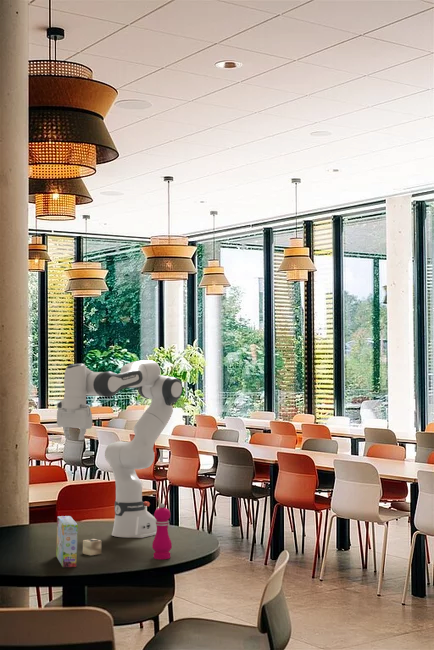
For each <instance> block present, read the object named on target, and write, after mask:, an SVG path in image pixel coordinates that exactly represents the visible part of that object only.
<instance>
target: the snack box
mask: <svg viewBox="0 0 434 650" xmlns="http://www.w3.org/2000/svg"><path fill="white" fill-rule="evenodd" d="M78 531H79V524H78V523H77V522H76V521H75V520H74V519H73V517H72V516H71V515H65V516H64V515H61V516H60V515H59V516H57V519H56V550H55V551H56V553H55V554H56V555H55V556H56V558H57V560H58V562H59V563H60V565H61V567H62V568H76V567H77V561H78V560H77V559H78V557H77V555H78V536H79V533H78Z"/></svg>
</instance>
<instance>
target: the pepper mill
mask: <svg viewBox="0 0 434 650" xmlns="http://www.w3.org/2000/svg"><path fill="white" fill-rule="evenodd" d="M165 506H166V505H165V503H160V505H159V507H158V508H156V509H155V511H154V513H153V516H154V517H155V519H156V520H157V521H156V525H157V532H156V535H154V538H153V541H152V545H151V547H152V550H153V551H154V552H153V559H155V560H168V559H170V558H171V552H170V550H171V549H172V546H173V544H172V540H171V538H170V535H169V532H168V531H169V529H168V528H169V526H170V523H169V522H170V521H169V520H170V518H171V511H170V509H168V508H167V507H165Z"/></svg>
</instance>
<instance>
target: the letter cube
mask: <svg viewBox="0 0 434 650" xmlns="http://www.w3.org/2000/svg"><path fill="white" fill-rule="evenodd" d="M82 554H84V555H86V556H87V555H88V556H94V555H95V556H96V555H102V540H101V539H96V538H91V539H83V540H82Z"/></svg>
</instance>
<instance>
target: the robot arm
mask: <svg viewBox="0 0 434 650" xmlns="http://www.w3.org/2000/svg"><path fill="white" fill-rule="evenodd" d="M64 371H65V372H64V376H63V377H64V379H63V388H64V395H63V399H62V400H60V401H59V402H57V403H56V408H57V411H56V424H57V426H58V427H59V428H60V427H61V428H62V430H63V433H64V439H66V440H67V439H69V440H70V439H71V434H70V428H72V429H79V434H78V436H77V437H78V439H77V440H78V441H84V440H85V434H86V433H87V429H92V428H93V415H92V414H93V412H92V411H91V408H90V406H89V405H88V404H87V396H88V397H89V396H90V397H106V398H111V397H114V396H115V395H116V394H117V393H118V392H119V391H121V390H123V389H126V388H137V392H138V395H140V397H142V398H144V399H147V400H148V399H150V400H151V402H150V405H149V407H147V409H146V410H145V411H144V412H143V414H142V415H141V416H140V418H139V419H138V421H137V422H136V423H135V425H134V427H133V434H134V437H133V439H132V440H130V441H121V440H119V441H115V442H111V443H109V444H108V445H107V446H106V447H105V451H104V457H105V460H106V462H107V464H109V467H111V470H112V472H113V473H112V474H113V476H114V482H115V483H114V484H115V501H114V520H113V522H114V523H113V527H112V531H111V536H114V537H118V538H139V539H140V538H146V537H148V538H149V537H151V536H155V535H156V532H157V525H156V521H157V520H156V519H155V517H154V514H151V513H150V512H149V511H148V510H146V508H147V507H149V506H150V502H149V501H144V500H143V482H142V480H141V479H140V478H139V477H138V474H137V472H136V470H142V469H148V468H149V467H151V466H152V464H153V463H154V461H155V452H154V446H155V444H156V441H157V439H158V438H159V436H160V435H161V433H162V432H163V430H164V429H165V427H167V425H168V423H169V420H170V419H171V417H172V415H173V412H174V408H173V406H174V405H175V404H176V403H177V402H178V401H179V399H180V398H181V396H182V393H183V387H184V386H183V383H182V381H181V380H180V379H179V378H178V377H174V376H168V375H164V374H163V375H162V374H161V367H160V366H159V364H158V363H157V361H154V360H153V359H152V360H151V359H141V360H134V361H132V362H128V363H126V364H124V365H122V367H121V369H120V372H119V373H115V372H113V371H104V372H103V371H99V372H98V371H94V370H90V369H89V368H88V367H87V366H86V364H85V363H72V364H68V365H67V366H66V368H65V370H64Z"/></svg>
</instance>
